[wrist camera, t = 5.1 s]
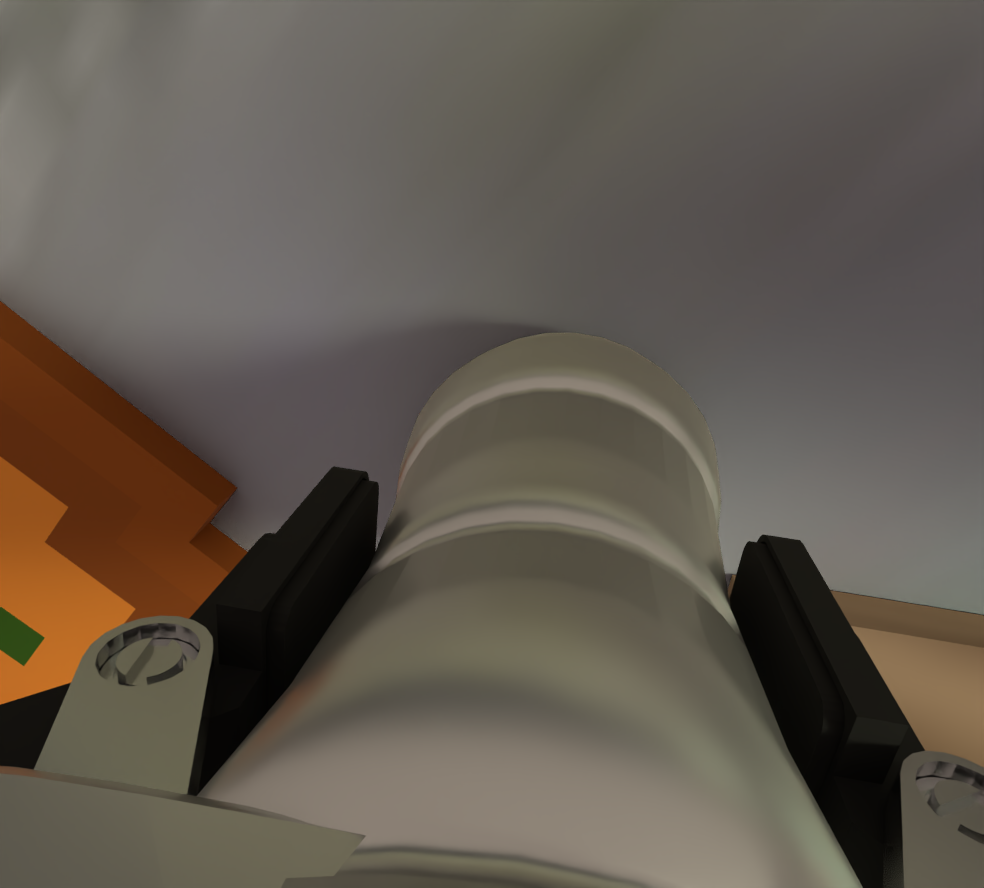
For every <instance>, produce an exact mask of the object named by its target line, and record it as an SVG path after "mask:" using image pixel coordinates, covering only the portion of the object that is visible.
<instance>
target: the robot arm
mask: <svg viewBox="0 0 984 888" xmlns="http://www.w3.org/2000/svg"><path fill="white" fill-rule="evenodd" d="M378 495H379V486H378V483H377V482H374V481H369V477H368V473H367V472H365V471H359V470H352V469H346V468H340V467H332V468H331V469H330V470H329V472H328V473H327V474H326V475H325V476H324V477H323V479H322V480H321V481H320V482H319V483H318V485H317V486H316V487H315V488H314V489H313V490H312V492H311V493H310V494H309V495H308V496H307V497H306V499H305V500H304V501H303V502H302V503H301V505H300V506H299V507H298V508H297V509H296V510H295V512H294V513H293V514H292V515H291V516H290V517H289V519H288V520H287V521H286V522H285V523H284V525H283V526H282V527H281V528H280V529H279V530H278V532H277V533H276V534H273V533H266V534H264V535H263V536H262V537H261V538H260V539H259V540H258V541H257V542H256V543H255V544H254V546H253V547H252V548H251V549H250V550H249V551H248V552H247V554H246V555H245V556H244V557H243V558H242V559H241V560H240V561H239V563H238V564H237V565H236V566H235V567H234V568H233V569H232V571H231V572H230V573H229V574H228V575H227V576H226V577H225V578H224V580H223V581H222V582H221V583H220V584H219V585H218V586H217V588H216V589H215V590H214V591H213V592H212V593H211V594H210V595H209V597H208V598H207V599H206V600H205V601H204V602H203V603H202V605H201V606H200V607H199V608H198V609H197V610H196V611H195V612H194V614H193V615H192V616H191V617H190V618H189V619H187V618H183V617H179V616H154V617H147V618H141V619H137V620H134V621H131V622H128V623H124V624H121V625H120V626H118V627H116V628H114V629H112V630H110V631H108V632H106V633H104V634H103V635H102V636H100V637H99V638H98V639H97V640H96V641H94V642H93V643H92V644H91V645H90V646H89V648H88V649H87V651H86V652H85V654H84V655H83V656H82V658H81V661H80V663H79V665H78V668H77V670H76V672H75V675H74V677H73V679H72V682H71V683H68V684H64V685H61V686H58V687H55V688H52V689H49V690H45V691H42V692H39V693H36V694H33V695H29V696H26V697H23V698H20V699H17V700H13V701H10V702H7V703H4V704H1V705H0V888H281V886H282V884H283V883H284V881H285V879H286V878H300V877H323V876H334V875H335V874H336V873H337V871H338V870H339V869H340V868H341V866H342V865H343V864H344V863H345V861H346V860H347V859H348V858H349V856H350V855H351V854H352V853H353V851H354V850H355V849H356V848H357V846H358V845H359V844H360V843H361V841H362V840H363V839H364V838H365V837H366V835H362V834H357V833H351V832H346V831H341V830H336V829H331V828H326V827H322V826H318V825H315V824H311V823H307V822H304V821H301V820H298V819H295V818H292V817H288V816H285V815H282V814H278V813H274V812H270V811H266V810H262V809H258V808H254V807H250V806H246V805H240V804H235V803H230V802H225V801H219V800H214V799H209V798H203V797H198V796H197V795H198V794H199V793H200V792H201V790H202V789H203V788H204V787H205V786H206V784H207V783H208V782H209V781H210V780H211V778H212V777H213V776H214V775H215V774H216V773H217V771H218V770H219V769H220V768H221V767H222V765H223V764H224V763H225V762H226V761H227V760H228V758H229V757H230V756H231V755H232V754H233V752H234V751H235V750H236V749H237V748H238V747H239V745H240V744H241V743H242V742H243V741H244V739H245V738H246V737H247V736H248V735H249V733H250V732H251V731H252V730H253V729H254V728H255V726H256V725H257V724H258V723H259V722H260V720H261V719H262V718H263V717H264V716H265V715H266V713H267V712H268V711H269V710H270V709H271V707H272V706H273V705H274V704H275V703H276V702H277V700H278V699H279V698H280V697H281V696H282V694H283V693H284V692H285V691H286V690H287V688H288V687H289V686H290V685H291V683H292V682H293V680H294V679H295V677H296V676H297V674H298V673H299V671H300V670H301V668H302V667H303V665H304V664H305V662H306V661H307V659H308V658H309V656H310V655H311V653H312V652H313V650H314V649H315V647H316V646H317V644H318V643H319V641H320V640H321V638H322V637H323V635H324V634H325V632H326V631H327V629H328V628H329V626H330V625H331V623H332V622H333V621H334V619H335V618H336V616H337V615H338V613H339V612H340V610H341V609H342V607H343V606H344V604H345V602H346V601H347V599H348V598H349V596H350V595H351V593H352V592H353V591H354V589H355V588H356V586H357V585H358V583H359V582H360V580H361V579H362V577H363V576H364V574H365V573H366V571H367V570H368V568H369V567H370V564H371V562H372V559H373V557H374V554H375V549H376V531H377V513H378ZM729 601H730V607H731V611H732V613H733V616H734V618H735V620H736V623H737V625H738V628H739V630H740V633H741V635H742V638H743V640H744V642H745V645H746V647H747V650H748V652H749V655H750V657H751V660H752V662H753V665H754V667H755V670H756V672H757V674H758V677H759V679H760V682H761V684H762V687H763V689H764V692H765V694H766V697H767V699H768V702H769V704H770V707H771V709H772V711H773V714H774V716H775V719H776V721H777V724H778V726H779V729H780V731H781V734H782V736H783V739H784V741H785V744H786V746H787V749H788V751H789V753H790V754H791V756H792V758H793V760H794V762H795V764H796V765H797V767H798V769H799V771H800V773H801V775H802V777H803V778H804V780H805V782H806V784H807V786H808V788H809V789H810V791H811V793H812V795H813V797H814V799H815V800H816V802H817V804H818V806H819V808H820V810H821V811H822V813H823V815H824V817H825V819H826V821H827V823H828V824H829V826H830V828H831V830H832V832H833V834H834V835H835V837H836V839H837V841H838V843H839V845H840V846H841V848H842V850H843V852H844V854H845V856H846V858H847V859H848V861H849V863H850V865H851V867H852V869H853V870H854V872H855V874H856V876H857V878H858V880H859V881H860V883H861V885H862V887H863V888H984V767H982V766H980V765H978V764H976V763H973V762H971V761H969V760H967V759H965V758H961V757H958V756H955V755H952V754H948V753H945V752H936V751H925V749H924V748H923V746H922V744H921V743H920V741H919V739H918V738H917V736H916V734H915V732H914V731H913V729H912V727H911V726H910V724H909V722H908V721H907V719H906V717H905V715H904V714H903V712H902V710H901V709H900V707H899V705H898V703H897V702H896V700H895V698H894V697H893V695H892V693H891V692H890V690H889V688H888V686H887V685H886V683H885V681H884V680H883V678H882V676H881V674H880V673H879V671H878V669H877V668H876V666H875V664H874V663H873V661H872V659H871V657H870V656H869V654H868V652H867V651H866V649H865V647H864V646H863V644H862V642H861V640H860V639H859V637H858V636H857V635H856V634H855V632H854V630H853V629H852V627H851V625H850V624H849V622H848V620H847V618H846V617H845V615H844V613H843V612H842V610H841V608H840V606H839V605H838V603H837V601H836V600H835V598H834V596H833V594H832V593H831V591H830V589H829V588H828V586H827V584H826V583H825V581H824V579H823V577H822V576H821V574H820V572H819V571H818V569H817V567H816V565H815V564H814V562H813V560H812V559H811V557H810V555H809V553H808V552H807V550H806V548H805V547H804V545H803V543H802V542H801V541H800V540H794V539H788V538H782V537H775V536H769V535H762V536H761V537H760V538H759V539H758V541H757V542H750V541H749V542H747V544H746V545H745V548H744V550H743V554H742V557H741V560H740V564H739V567H738V571H737V574H736V577H735V581H734V584H733V588H732V591H731V594H730V598H729Z"/></svg>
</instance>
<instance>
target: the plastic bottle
mask: <svg viewBox="0 0 984 888" xmlns="http://www.w3.org/2000/svg"><path fill="white" fill-rule="evenodd" d="M720 509H721V493H720V482H719V471H718V464H717V457H716V449H715V444H714V441H713V439H712V436H711V433H710V431H709V428H708V426H707V423H706V420H705V418H704V416H703V415H702V413H701V412H700V410H699V409H698V407H697V406H696V404H695V403H694V401H693V400H692V398H691V397H690V395H689V394H688V393H687V392H686V391H685V390H684V389H683V388H682V387H681V386H680V385H679V384H678V383H677V382H676V381H675V380H674V379H673V378H672V377H671V376H670V375H669V374H668V373H666V372H665V371H664V370H663V369H661V368H660V367H658V366H657V365H656V364H654V363H653V362H651V361H650V360H648V359H646V358H645V357H643V356H642V355H640V354H638V353H637V352H635V351H634V350H632V349H630V348H629V347H626V346H624V345H621V344H618V343H616V342H613V341H610V340H608V339H605V338H603V337H597V336H591V335H586V334H580V333H543V334H538V335H533V336H528V337H523V338H518V339H516V340H513V341H511V342H509V343H506V344H504V345H501V346H499V347H496V348H494V349H492V350H490V351H487V352H485V353H483V354H481V355H479V356H478V357H476V358H475V359H473V360H472V361H470V362H469V363H467V364H465V365H464V366H462V367H461V368H459V369H458V370H456V371H455V372H453V373H452V374H451V375H450V376H449V377H448V378H447V379H446V380H445V381H444V382H443V383H442V384H441V385H440V386H439V387H438V388H437V389H436V390H435V391H434V392H433V394H432V395H431V397H430V398H429V400H428V401H427V403H426V404H425V406H424V408H423V409H422V411H421V412H420V414H419V415H418V417H417V420H416V422H415V425H414V428H413V430H412V433H411V436H410V439H409V441H408V444H407V447H406V451H405V454H404V457H403V460H402V463H401V466H400V472H399V479H398V487H397V494H396V501H395V504H394V506H393V509H392V511H391V514H390V517H389V519H388V522H387V524H386V527H385V529H384V532H383V534H382V537H381V539H380V542H379V544H378V547H377V549H376V552H375V554H374V557H373V559H372V562H371V564H370V567H369V568H368V570H367V571H366V573H365V574H364V576H363V577H362V579H361V580H360V582H359V583H358V585H357V586H356V588H355V589H354V591H353V592H352V593H351V595H350V596H349V598H348V599H347V601H346V602H345V604H344V606H343V607H342V609H341V610H340V612H339V613H338V615H337V616H336V618H335V619H334V621H333V622H332V623H331V625H330V626H329V628H328V629H327V631H326V632H325V634H324V635H323V637H322V638H321V640H320V641H319V643H318V644H317V646H316V647H315V649H314V650H313V652H312V653H311V655H310V656H309V658H308V659H307V661H306V662H305V664H304V665H303V667H302V668H301V670H300V671H299V673H298V674H297V676H296V677H295V679H294V680H293V682H292V683H291V685H290V686H289V687H288V688H287V690H286V691H285V692H284V693H283V694H282V696H281V697H280V698H279V699H278V700H277V702H276V703H275V704H274V705H273V706H272V707H271V709H270V710H269V711H268V712H267V713H266V715H265V716H264V717H263V718H262V719H261V720H260V722H259V723H258V724H257V725H256V726H255V728H254V729H253V730H252V731H251V732H250V733H249V735H248V736H247V737H246V738H245V739H244V741H243V742H242V743H241V744H240V745H239V747H238V748H237V749H236V750H235V751H234V752H233V754H232V755H231V756H230V757H229V758H228V760H227V761H226V762H225V763H224V764H223V765H222V767H221V768H220V769H219V770H218V771H217V773H216V774H215V775H214V776H213V777H212V778H211V780H210V781H209V782H208V783H207V784H206V786H205V787H204V788H203V789H202V790H201V792H200V793H199V794H198V795H197V796H198V797H203V798H209V799H214V800H219V801H225V802H230V803H235V804H240V805H246V806H250V807H254V808H258V809H262V810H266V811H270V812H274V813H278V814H282V815H285V816H288V817H292V818H295V819H298V820H301V821H304V822H307V823H311V824H315V825H318V826H322V827H326V828H331V829H336V830H341V831H346V832H351V833H357V834H362V835H366V837H365V838H364V839H363V840H362V841H361V843H360V844H359V845H358V846H357V848H356V849H355V850H354V851H353V853H352V854H351V855H350V856H349V858H348V859H347V860H346V861H345V863H344V864H343V865H342V866H341V868H340V869H339V870H338V871H337V873H336V874H335V875H334V876H323V877H300V878H286V879H285V881H284V883H283V884H282V886H281V888H863V887H862V885H861V883H860V881H859V880H858V878H857V876H856V874H855V872H854V870H853V869H852V867H851V865H850V863H849V861H848V859H847V858H846V856H845V854H844V852H843V850H842V848H841V846H840V845H839V843H838V841H837V839H836V837H835V835H834V834H833V832H832V830H831V828H830V826H829V824H828V823H827V821H826V819H825V817H824V815H823V813H822V811H821V810H820V808H819V806H818V804H817V802H816V800H815V799H814V797H813V795H812V793H811V791H810V789H809V788H808V786H807V784H806V782H805V780H804V778H803V777H802V775H801V773H800V771H799V769H798V767H797V765H796V764H795V762H794V760H793V758H792V756H791V754H790V753H789V751H788V749H787V746H786V744H785V741H784V739H783V736H782V734H781V731H780V729H779V726H778V724H777V721H776V719H775V716H774V714H773V711H772V709H771V707H770V704H769V702H768V699H767V697H766V694H765V692H764V689H763V687H762V684H761V682H760V679H759V677H758V674H757V672H756V670H755V667H754V665H753V662H752V660H751V657H750V655H749V652H748V650H747V647H746V645H745V642H744V640H743V638H742V635H741V633H740V630H739V628H738V625H737V623H736V620H735V618H734V616H733V613H732V611H731V607H730V601H729V595H728V590H727V584H726V578H725V572H724V566H723V560H722V554H721V548H720V542H719V536H718V528H719V519H720Z"/></svg>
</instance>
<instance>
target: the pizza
mask: <svg viewBox="0 0 984 888" xmlns="http://www.w3.org/2000/svg"><path fill="white" fill-rule="evenodd" d="M236 489H237V487H236V486H234V485H233V484H232V483H231V482H229V481H228V480H227V479H225V478H224V477H223V476H222V475H220V474H219V473H218V472H217V471H215V470H214V469H213V468H211V467H210V466H209V465H208V464H206V463H205V462H204V461H203V460H201V459H200V458H199V457H198V456H196V455H195V454H194V453H192V452H191V451H190V450H189V449H187V448H186V447H185V446H184V445H182V444H181V443H180V442H179V441H177V440H176V439H175V438H173V437H172V436H171V435H170V434H168V433H167V432H166V431H165V430H163V429H162V428H161V427H159V426H158V425H157V424H156V423H154V422H153V421H152V420H151V419H149V418H148V417H147V416H146V415H144V414H143V413H142V412H140V411H139V410H138V409H137V408H135V407H134V406H133V405H132V404H130V403H129V402H128V401H126V400H125V399H124V398H123V397H121V396H120V395H119V394H118V393H116V392H115V391H114V390H113V389H111V388H110V387H109V386H107V385H106V384H105V383H104V382H102V381H101V380H100V379H99V378H97V377H96V376H95V375H93V374H92V373H91V372H90V371H88V370H87V369H86V368H85V367H83V366H82V365H81V364H80V363H78V362H77V361H76V360H74V359H73V358H72V357H71V356H69V355H68V354H67V353H66V352H64V351H63V350H62V349H61V348H59V347H58V346H57V345H55V344H54V343H53V342H52V341H50V340H49V339H48V338H47V337H45V336H44V335H43V334H41V333H40V332H39V331H38V330H36V329H35V328H34V327H33V326H31V325H30V324H29V323H28V322H26V321H25V320H24V319H22V318H21V317H20V316H19V315H17V314H16V313H15V312H14V311H12V310H11V309H10V308H8V307H7V306H6V305H5V304H3V303H2V302H1V301H0V705H1V704H4V703H7V702H10V701H13V700H17V699H20V698H23V697H26V696H29V695H33V694H36V693H39V692H42V691H45V690H49V689H52V688H55V687H58V686H61V685H64V684H68V683H71V682H72V679H73V677H74V675H75V672H76V670H77V668H78V665H79V663H80V661H81V658H82V656H83V655H84V654H85V652H86V651H87V649H88V648H89V646H90V645H91V644H92V643H93V642H94V641H96V640H97V639H98V638H99V637H100V636H102V635H103V634H104V633H106V632H108V631H110V630H112V629H114V628H116V627H118V626H120V625H121V624H124V623H128V622H131V621H134V620H137V619H141V618H147V617H154V616H179V617H183V618H187V619H189V618H190V617H191V616H192V615H193V614H194V612H195V611H196V610H197V609H198V608H199V607H200V606H201V605H202V603H203V602H204V601H205V600H206V599H207V598H208V597H209V595H210V594H211V593H212V592H213V591H214V590H215V589H216V588H217V586H218V585H219V584H220V583H221V582H222V581H223V580H224V578H225V577H226V576H227V575H228V574H229V573H230V572H231V571H232V569H233V568H234V567H235V566H236V565H237V564H238V563H239V561H240V560H241V559H242V558H243V557H244V556H245V555H246V554H247V551H245V550H244V549H243V548H242V547H240V546H239V545H238V544H236V543H235V542H234V541H233V540H231V539H230V538H229V537H227V536H226V535H225V534H223V533H222V532H221V531H220V530H218V529H217V528H216V527H214V526H213V525H212V524H211V523H210V522H211V520H212V519H213V518H214V517H215V515H216V514H217V513H218V512H219V510H220V509H221V508H222V507H223V506H224V504H225V503H226V502H227V501H228V499H229V498H230V497H231V496H232V494H233V493H234V492H235V491H236Z"/></svg>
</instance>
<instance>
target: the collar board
mask: <svg viewBox="0 0 984 888" xmlns="http://www.w3.org/2000/svg"><path fill="white" fill-rule="evenodd" d="M735 577H736V575H733V574H732V577H731V581H730V584H729V588H728V595H729V598H730V594H731V591H732V588H733V584H734V581H735ZM830 591H831V590H830ZM831 593H832V594H833V596H834V598H835V600H836V601H837V603H838V605H839V606H840V608H841V610H842V612H843V613H844V615H845V617H846V618H847V620H848V622H849V624H850V625H851V627H852V629H853V630H854V632H855V634H856V635H857V636H858V637H859V639H860V640H861V642H862V644H863V646H864V647H865V649H866V651H867V652H868V654H869V656H870V657H871V659H872V661H873V663H874V664H875V666H876V668H877V669H878V671H879V673H880V674H881V676H882V678H883V680H884V681H885V683H886V685H887V686H888V688H889V690H890V692H891V693H892V695H893V697H894V698H895V700H896V702H897V703H898V705H899V707H900V709H901V710H902V712H903V714H904V715H905V717H906V719H907V721H908V722H909V724H910V726H911V727H912V729H913V731H914V732H915V734H916V736H917V738H918V739H919V741H920V743H921V744H922V746H923V748H924V749H925V751H936V752H945V753H948V754H952V755H955V756H958V757H961V758H965V759H967V760H969V761H971V762H973V763H976V764H978V765H980V766H982V767H984V615H978V614H972V613H966V612H959V611H953V610H947V609H941V608H935V607H929V606H923V605H917V604H910V603H904V602H898V601H892V600H886V599H880V598H874V597H867V596H861V595H855V594H849V593H843V592H837V591H831Z"/></svg>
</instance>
